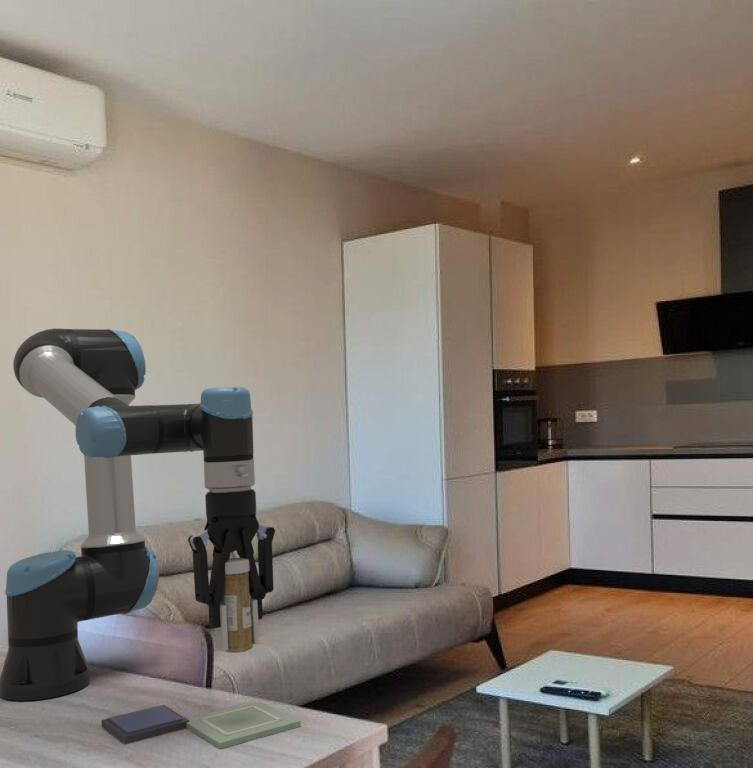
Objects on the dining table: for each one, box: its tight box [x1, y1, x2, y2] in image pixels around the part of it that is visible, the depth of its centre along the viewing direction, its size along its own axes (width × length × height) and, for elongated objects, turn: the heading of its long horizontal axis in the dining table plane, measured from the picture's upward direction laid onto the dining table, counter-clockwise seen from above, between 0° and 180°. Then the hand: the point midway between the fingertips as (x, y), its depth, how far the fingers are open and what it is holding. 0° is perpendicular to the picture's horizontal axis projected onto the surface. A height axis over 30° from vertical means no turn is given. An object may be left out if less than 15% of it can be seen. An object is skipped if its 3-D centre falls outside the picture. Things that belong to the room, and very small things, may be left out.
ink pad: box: [101, 704, 189, 745], centre depth 133 cm, size 10×10×1 cm
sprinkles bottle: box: [221, 557, 254, 654], centre depth 131 cm, size 5×5×14 cm
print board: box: [186, 700, 302, 750], centre depth 131 cm, size 13×13×1 cm
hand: (237, 645), depth 131 cm, fingers closed on sprinkles bottle, 4 cm apart
